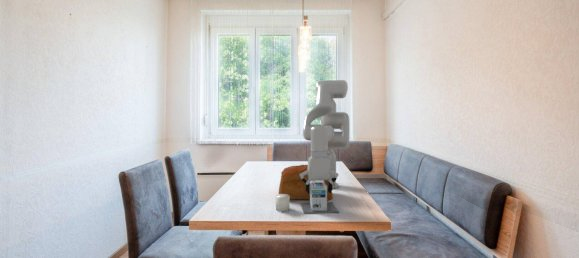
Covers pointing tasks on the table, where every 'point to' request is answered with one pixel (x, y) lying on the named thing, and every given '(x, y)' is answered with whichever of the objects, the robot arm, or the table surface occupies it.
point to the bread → (296, 183)
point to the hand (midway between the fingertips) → (318, 192)
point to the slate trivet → (307, 210)
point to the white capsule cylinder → (282, 202)
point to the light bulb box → (318, 195)
